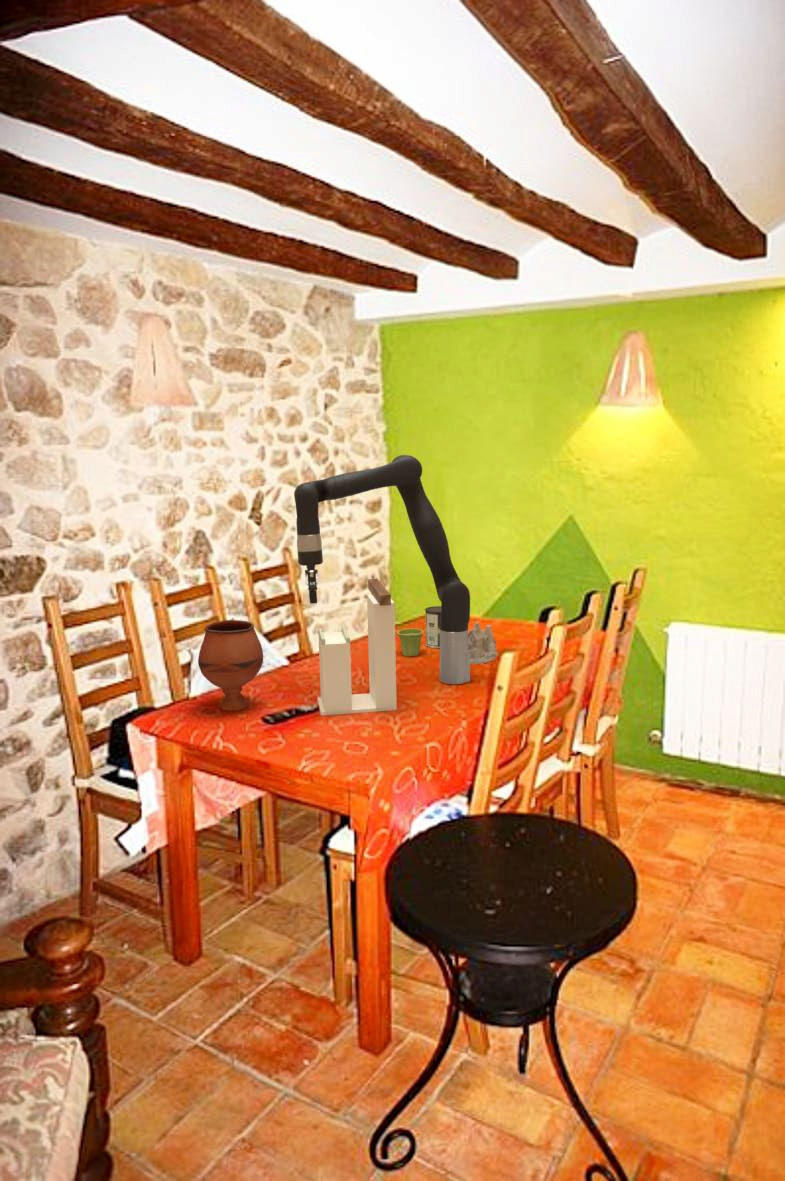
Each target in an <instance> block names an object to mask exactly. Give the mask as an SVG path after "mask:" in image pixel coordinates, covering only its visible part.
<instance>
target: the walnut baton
mask: <svg viewBox="0 0 785 1181" xmlns="http://www.w3.org/2000/svg"><path fill="white" fill-rule="evenodd" d="M367 588H368V590H369V592H370V593H371V594H372V595H373V596H374V598H375V599H376V600H377V602H378V603H379V605H380V606H386V605H391V599H392V597H391V596H392V594H391V593H390V592H389V591H388V589H387V588H386V587H385V586H384V585H383V583H382V582H381V581H380V580H379V579H378V578H368V579H367Z"/></svg>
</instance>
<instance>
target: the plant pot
mask: <svg viewBox="0 0 785 1181" xmlns="http://www.w3.org/2000/svg"><path fill="white" fill-rule="evenodd" d="M396 633H397V634H398V638H399V642H400V646H401V654H402V655H403V656H404V657H416V656H419V655H420V649H421V642H422V637H423V634H424V630H423V629H420V628H403V629H400V630H397V632H396Z"/></svg>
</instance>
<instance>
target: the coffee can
mask: <svg viewBox="0 0 785 1181" xmlns="http://www.w3.org/2000/svg"><path fill="white" fill-rule="evenodd" d="M424 611H425V646H426V647H427V646H428V648H432V649H440V629H439V622H440V620H441V605H437V606H429V607H426V608H425V609H424Z"/></svg>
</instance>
